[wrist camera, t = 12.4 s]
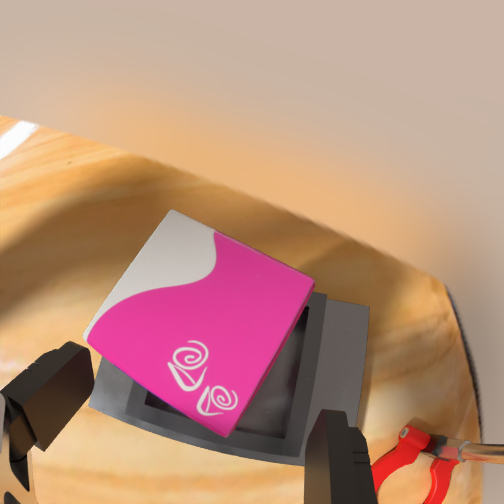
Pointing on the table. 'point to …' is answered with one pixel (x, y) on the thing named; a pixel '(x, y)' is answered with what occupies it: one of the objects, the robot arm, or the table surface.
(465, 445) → the tow hook
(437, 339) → the table surface
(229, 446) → the socket plate
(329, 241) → the table surface
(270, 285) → the supplement box
